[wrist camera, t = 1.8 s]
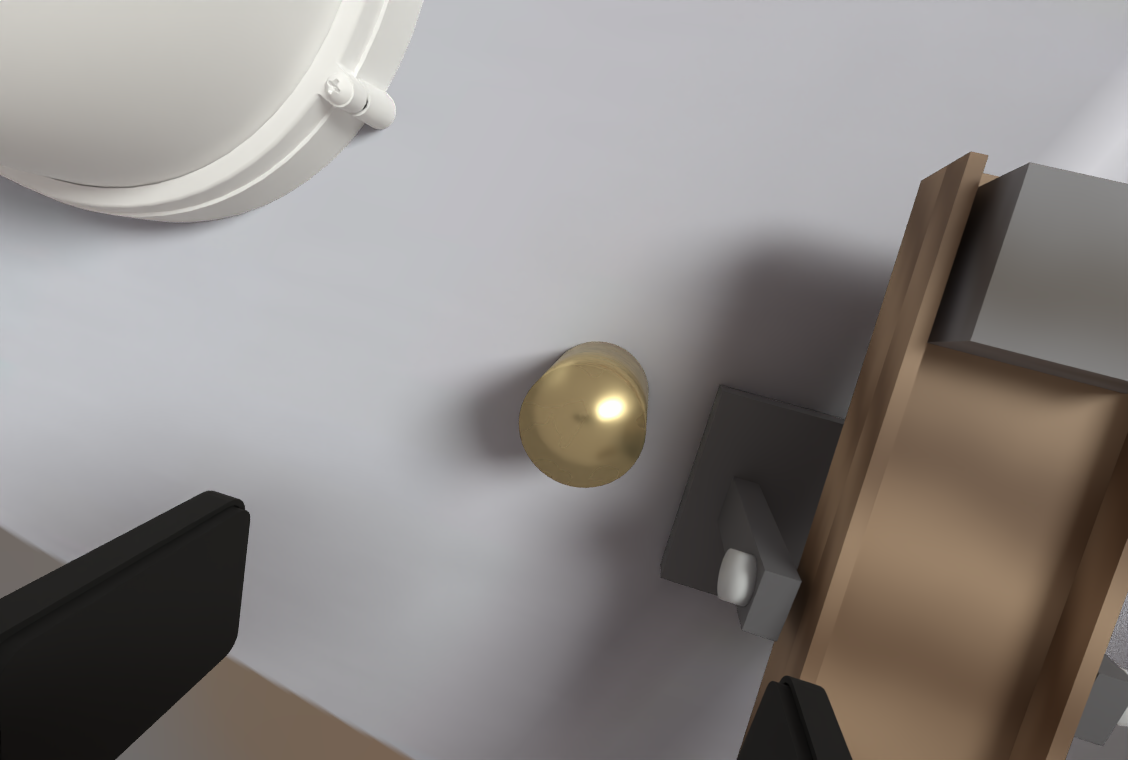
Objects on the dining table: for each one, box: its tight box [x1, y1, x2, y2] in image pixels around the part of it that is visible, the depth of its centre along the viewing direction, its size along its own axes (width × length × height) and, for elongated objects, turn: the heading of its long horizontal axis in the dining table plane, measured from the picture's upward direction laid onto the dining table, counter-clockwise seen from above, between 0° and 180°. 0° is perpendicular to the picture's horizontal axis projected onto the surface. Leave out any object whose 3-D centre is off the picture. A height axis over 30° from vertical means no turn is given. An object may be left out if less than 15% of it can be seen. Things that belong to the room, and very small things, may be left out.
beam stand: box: [661, 385, 1128, 746], centre depth 22 cm, size 10×15×9 cm, turn 76°
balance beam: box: [737, 152, 1128, 760], centre depth 18 cm, size 30×8×4 cm, turn 166°
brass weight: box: [519, 342, 649, 488], centre depth 24 cm, size 5×5×6 cm
